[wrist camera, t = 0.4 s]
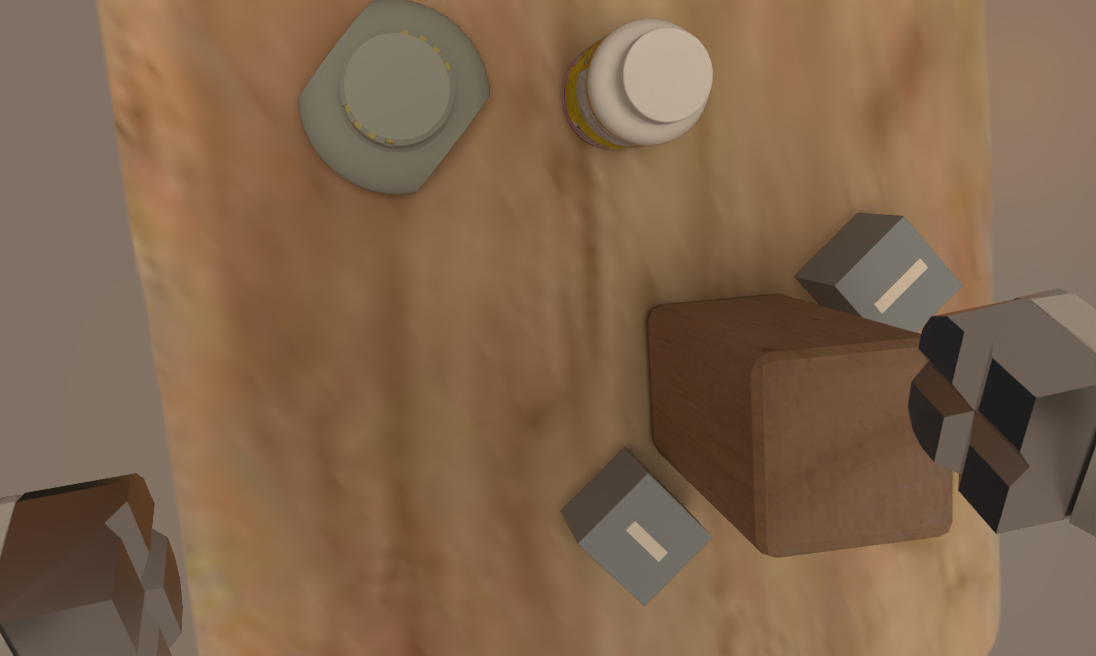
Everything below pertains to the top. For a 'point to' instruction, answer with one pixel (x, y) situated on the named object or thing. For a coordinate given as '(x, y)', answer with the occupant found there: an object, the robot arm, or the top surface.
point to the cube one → (880, 273)
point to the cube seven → (634, 527)
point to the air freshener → (393, 96)
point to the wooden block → (795, 422)
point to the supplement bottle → (638, 86)
